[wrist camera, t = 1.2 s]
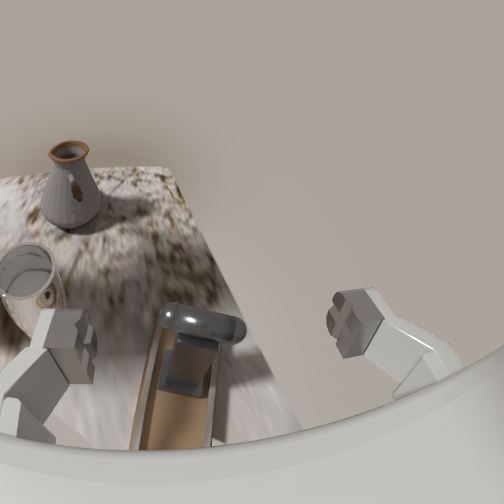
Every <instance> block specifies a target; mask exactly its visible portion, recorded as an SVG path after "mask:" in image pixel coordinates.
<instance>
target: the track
mask: <svg viewBox="0 0 504 504" xmlns="http://www.w3.org/2000/svg"><path fill="white" fill-rule="evenodd" d="M160 310H161V307H159V311H158V314H157V318H156V322H155V326H154V330H153V334H152V338H151V342H150V346H149V351H148V355H147V359H146V364H145V368H144V373H143V377H142V382H141V387H140V391H139V396H138V401H137V407H136V412H135V417H134V423H133V428H132V434H131V440H130V446H129V450H175V449H190V448H202V447H211V445H212V434H213V423H214V412H215V402H216V391H217V381H218V371H219V361H220V351H221V343H220V344H219V352H218V354H217V355H216V357H215V359H214V360H213V362H212V363H211V365H210V367H209V368H208V370H207V372H206V373H205V375H204V378H203V386H202V395H201V397H200V399H198V398H193V397H188V396H183V395H178V394H174V393H169V392H165V391H161V390H157V389H158V384H159V378H160V373H161V368H162V363H163V358H164V353H165V349H168V350H172V348H173V345H174V341H175V338H176V334H177V332H173V331H170V330H167V329H166V328H164V327H163V326H162V324H161V323H160V320H159V312H160Z"/></svg>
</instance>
